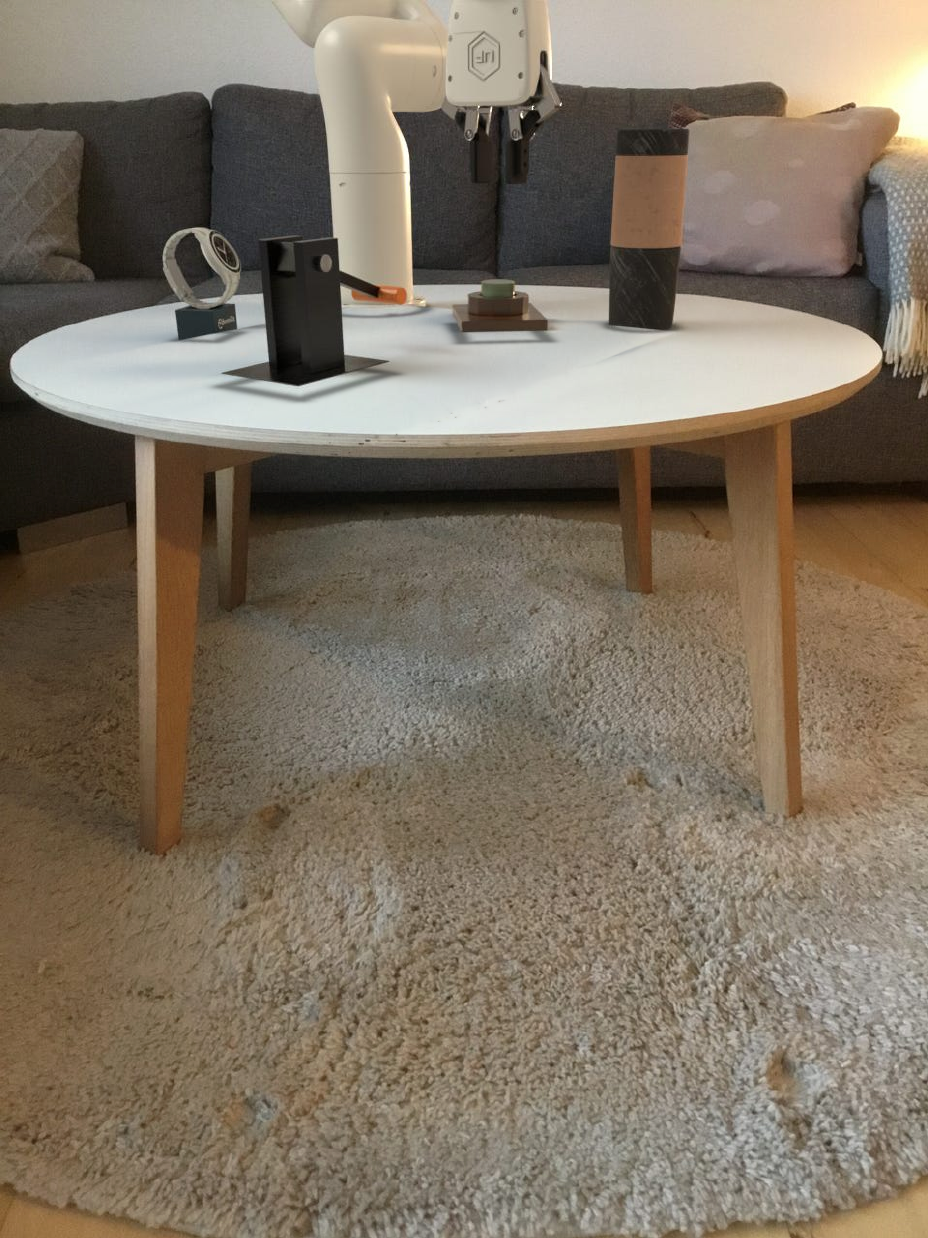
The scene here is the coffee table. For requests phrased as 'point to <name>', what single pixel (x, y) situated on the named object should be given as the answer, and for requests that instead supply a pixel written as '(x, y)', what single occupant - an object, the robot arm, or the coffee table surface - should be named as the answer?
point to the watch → (198, 314)
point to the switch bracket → (303, 315)
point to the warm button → (498, 288)
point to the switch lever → (347, 281)
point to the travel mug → (647, 226)
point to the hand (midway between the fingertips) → (498, 181)
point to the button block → (498, 314)
